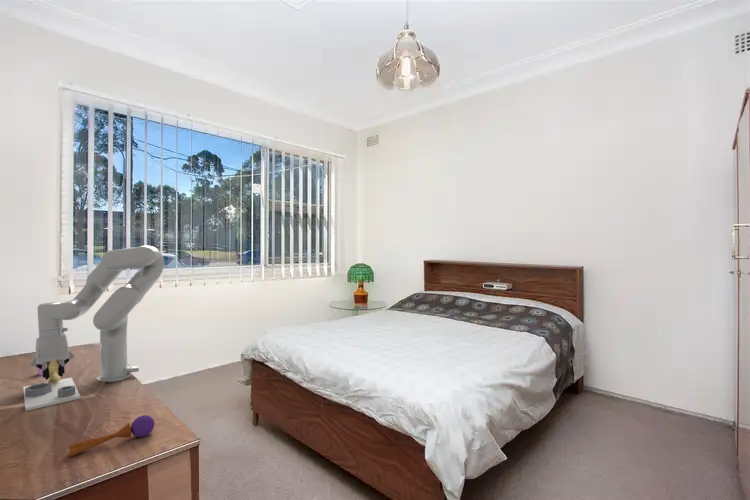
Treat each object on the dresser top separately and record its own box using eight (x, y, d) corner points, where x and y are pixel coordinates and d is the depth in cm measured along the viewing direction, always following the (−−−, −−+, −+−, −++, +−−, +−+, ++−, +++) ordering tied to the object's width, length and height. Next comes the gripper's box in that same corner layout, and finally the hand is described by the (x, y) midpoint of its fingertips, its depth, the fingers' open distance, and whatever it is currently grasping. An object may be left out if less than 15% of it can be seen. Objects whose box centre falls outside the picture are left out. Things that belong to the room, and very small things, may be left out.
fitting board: (71, 379, 161) (71, 371, 161) (80, 398, 141) (79, 389, 141) (23, 389, 150) (23, 380, 150) (25, 411, 130) (25, 401, 130)
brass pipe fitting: (62, 378, 157) (60, 357, 157) (58, 382, 153) (57, 360, 153) (50, 380, 155) (48, 358, 155) (46, 383, 152) (44, 361, 152)
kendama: (68, 437, 104) (151, 410, 117) (71, 459, 104) (154, 430, 117) (68, 441, 100) (154, 413, 112) (71, 464, 99) (157, 434, 112)
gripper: (76, 327, 162) (78, 369, 163) (23, 335, 151) (25, 381, 151) (78, 330, 157) (80, 373, 157) (23, 338, 145) (26, 385, 146)
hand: (53, 376), depth 154 cm, fingers closed on brass pipe fitting, 4 cm apart
